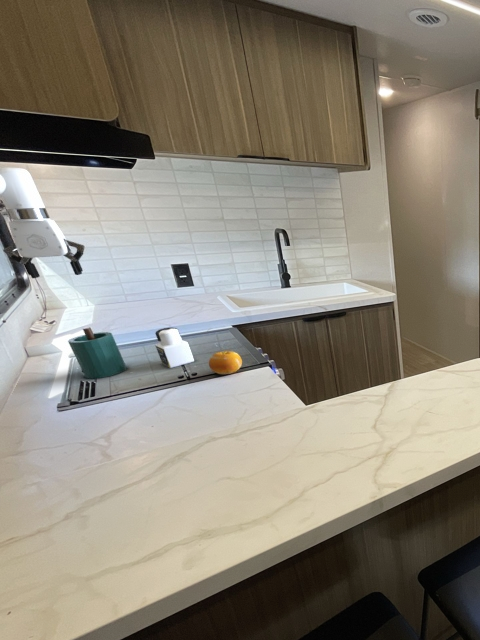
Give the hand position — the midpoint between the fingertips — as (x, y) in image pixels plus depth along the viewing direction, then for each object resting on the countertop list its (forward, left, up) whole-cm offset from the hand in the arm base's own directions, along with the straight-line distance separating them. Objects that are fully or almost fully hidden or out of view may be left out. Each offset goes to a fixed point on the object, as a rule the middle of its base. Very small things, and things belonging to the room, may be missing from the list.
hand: (57, 275), depth 122 cm
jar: (+6, -4, -30) cm, 31 cm away
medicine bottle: (+24, +4, -31) cm, 39 cm away
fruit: (+47, -4, -31) cm, 56 cm away
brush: (+6, -4, -29) cm, 30 cm away
